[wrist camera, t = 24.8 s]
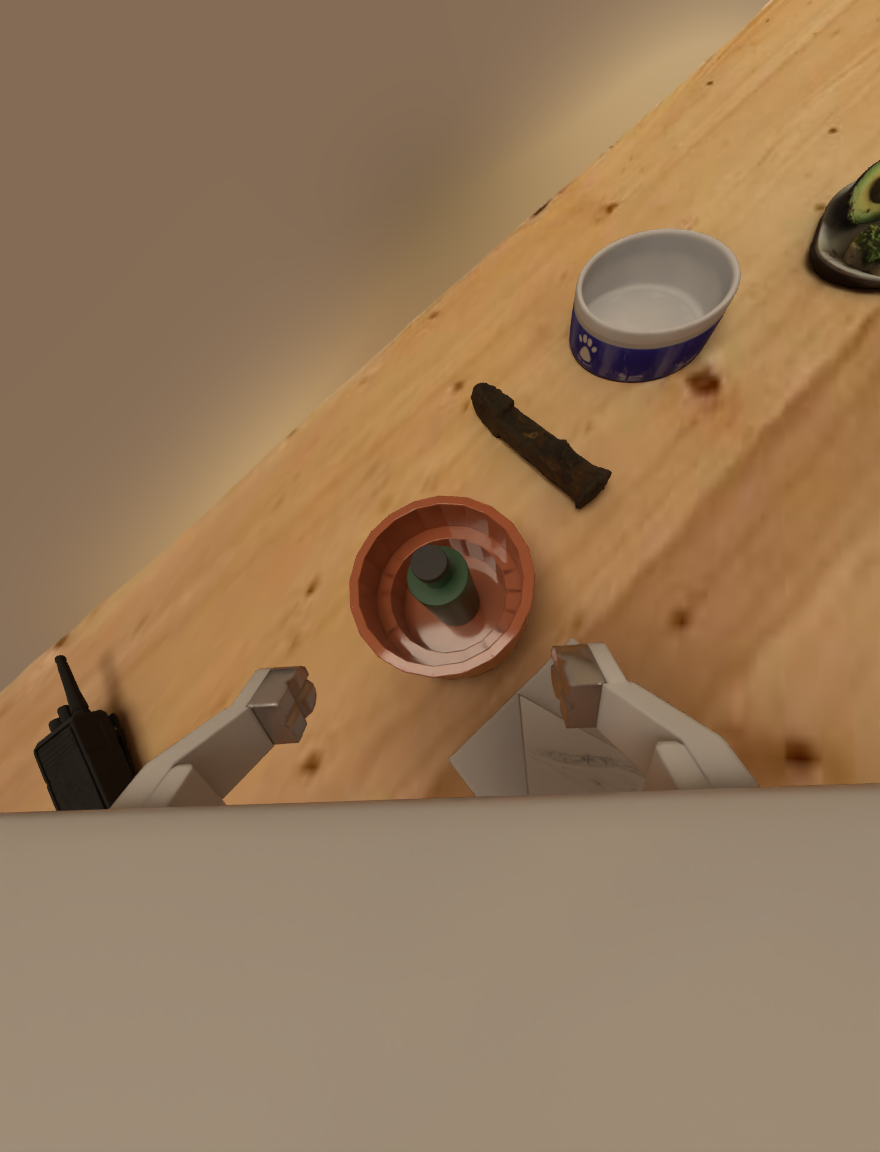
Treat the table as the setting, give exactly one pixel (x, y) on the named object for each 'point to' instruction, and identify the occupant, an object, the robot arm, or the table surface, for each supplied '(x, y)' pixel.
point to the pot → (407, 625)
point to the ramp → (541, 750)
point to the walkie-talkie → (83, 753)
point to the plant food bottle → (443, 584)
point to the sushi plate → (851, 234)
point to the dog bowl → (651, 303)
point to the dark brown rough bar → (539, 445)
